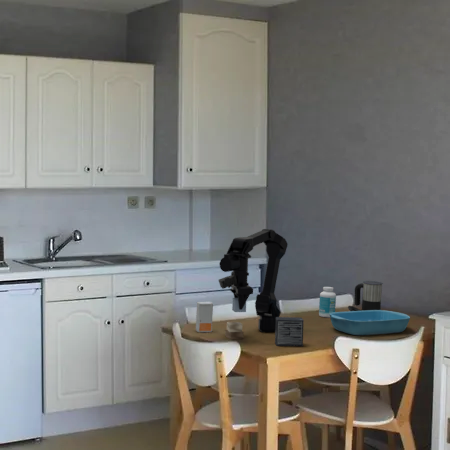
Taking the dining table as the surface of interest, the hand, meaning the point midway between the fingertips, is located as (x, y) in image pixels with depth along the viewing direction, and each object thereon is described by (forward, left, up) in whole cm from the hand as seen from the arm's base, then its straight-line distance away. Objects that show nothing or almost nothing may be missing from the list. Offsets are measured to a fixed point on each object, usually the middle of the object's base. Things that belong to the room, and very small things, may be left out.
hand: (239, 308), depth 355 cm
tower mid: (+1, -1, -9) cm, 9 cm away
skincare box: (+12, -14, -12) cm, 22 cm away
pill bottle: (-51, -45, -12) cm, 69 cm away
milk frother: (-72, -51, -12) cm, 89 cm away
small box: (-17, +12, -12) cm, 25 cm away
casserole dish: (-60, -13, -12) cm, 63 cm away
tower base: (+1, -1, -12) cm, 12 cm away
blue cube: (0, 0, -1) cm, 1 cm away
